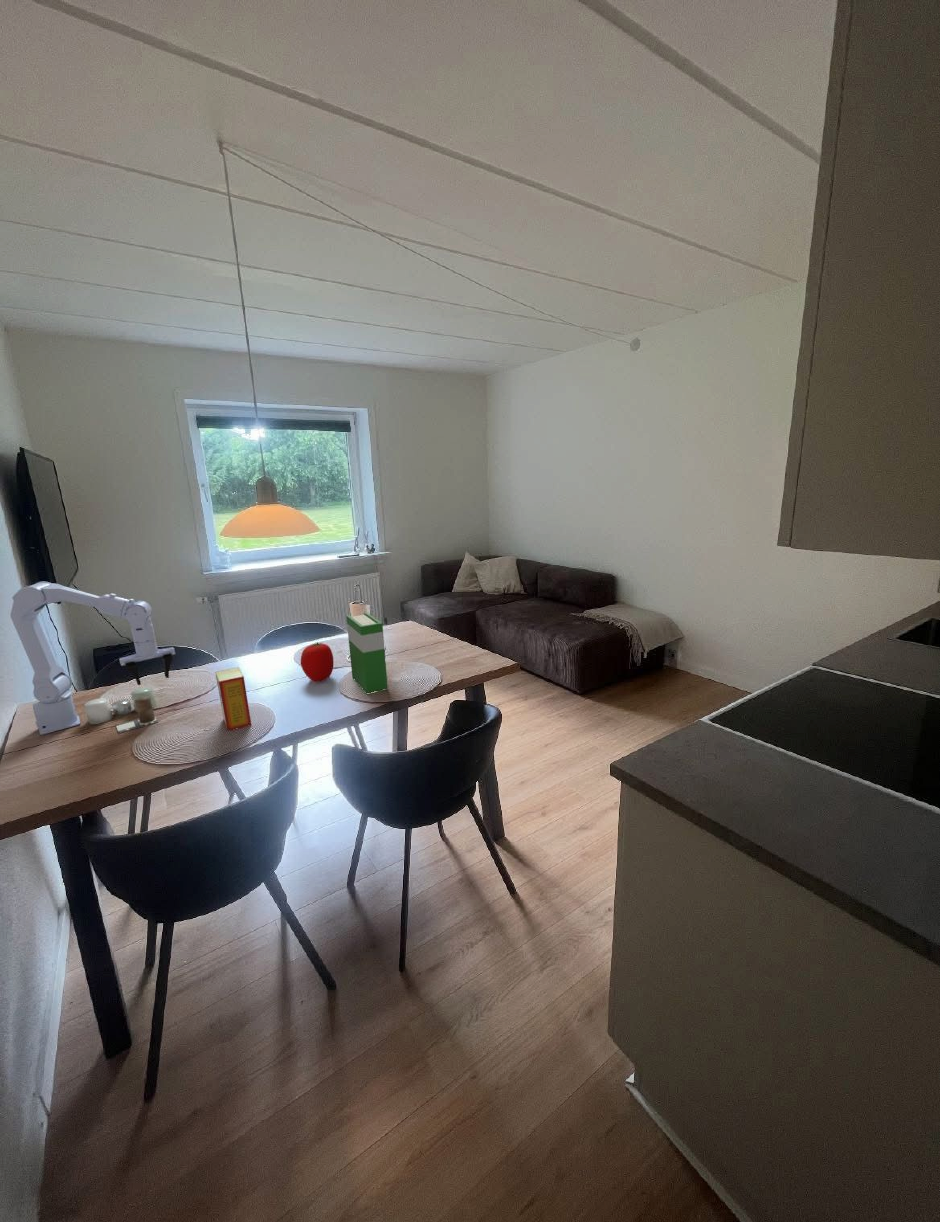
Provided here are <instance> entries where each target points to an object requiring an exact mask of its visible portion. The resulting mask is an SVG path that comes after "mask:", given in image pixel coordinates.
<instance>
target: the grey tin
mask: <svg viewBox="0 0 940 1222" xmlns="http://www.w3.org/2000/svg"><path fill="white" fill-rule="evenodd" d="M111 706H112V707H111V708H112V710H113V711H112V712H113V714H114V716H116V717H122V716H126V715H129V714H130V713H132V712H133V708H132V704H131V699H121V700H118V701H115V702H113V703H112V704H111Z"/></svg>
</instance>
